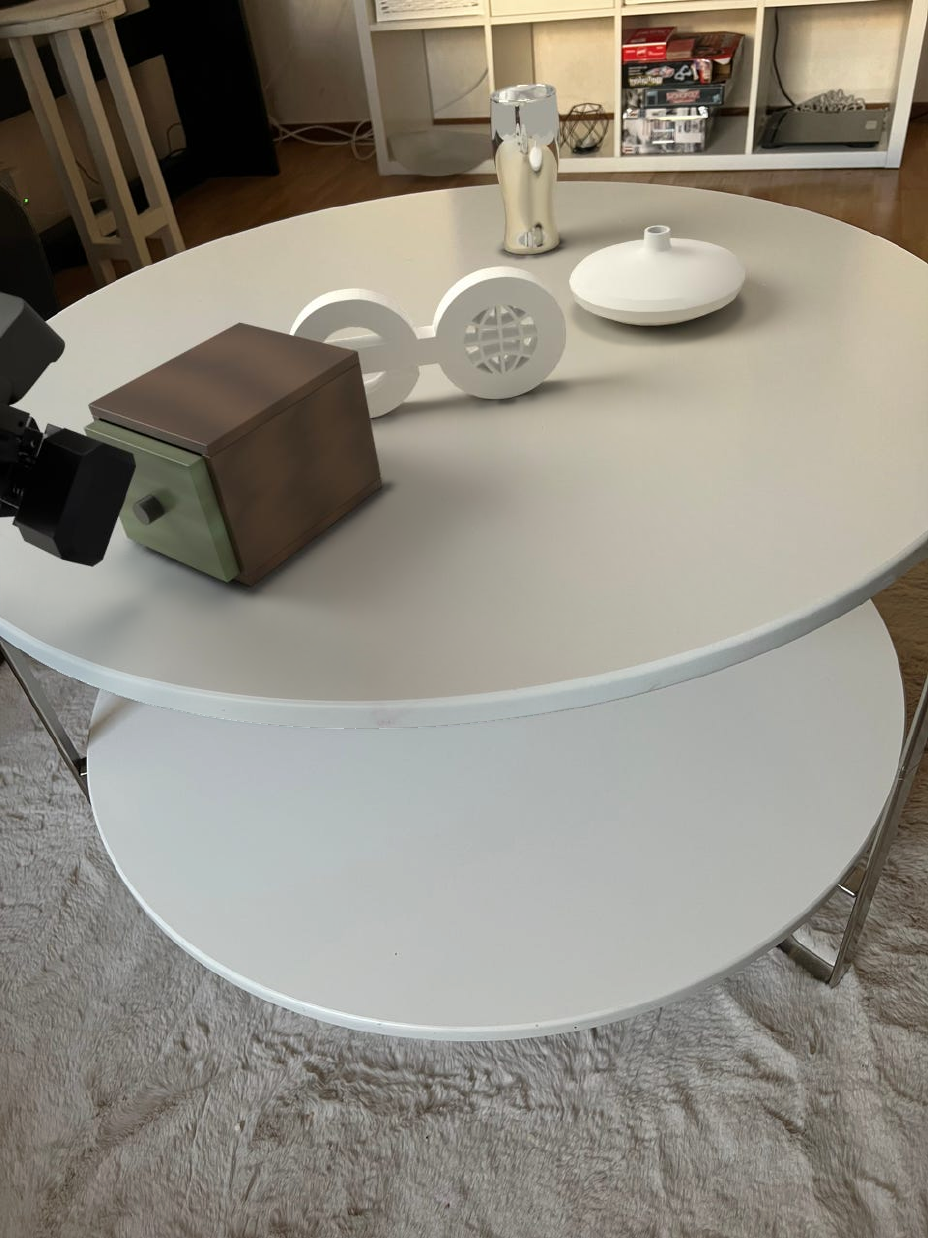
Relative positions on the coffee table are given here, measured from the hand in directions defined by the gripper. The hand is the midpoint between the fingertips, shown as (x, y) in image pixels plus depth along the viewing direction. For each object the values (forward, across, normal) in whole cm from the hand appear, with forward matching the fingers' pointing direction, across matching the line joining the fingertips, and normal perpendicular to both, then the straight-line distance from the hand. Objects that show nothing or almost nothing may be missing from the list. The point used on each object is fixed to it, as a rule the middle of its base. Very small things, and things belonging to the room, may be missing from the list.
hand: (120, 501), depth 61 cm
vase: (+42, -9, -33) cm, 54 cm away
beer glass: (+48, +11, -39) cm, 63 cm away
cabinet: (+12, 0, -2) cm, 12 cm away
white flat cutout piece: (+25, -1, -16) cm, 30 cm away
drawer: (+10, 0, -1) cm, 10 cm away
